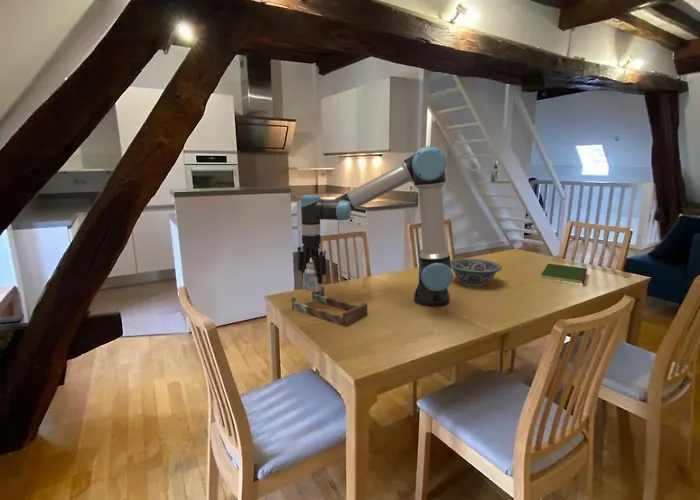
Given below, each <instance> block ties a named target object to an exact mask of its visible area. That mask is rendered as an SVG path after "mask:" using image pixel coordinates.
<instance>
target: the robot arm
mask: <svg viewBox="0 0 700 500" xmlns="http://www.w3.org/2000/svg"><path fill="white" fill-rule="evenodd" d="M446 168H447V159H446V156H445V154H444V152H443V151H442V150H441V149H440V148H438V147H436V146H432V145H431V146H429V145H427V146H424V147H421V148H419V149H418V150H417V151H416V152H415V153H413V155H411V156H409V157H408V158H406V159H404V160H402V162H401V164H400V165H398V166H396V167H394V168H392V169H391V170H389V171H386V172H384V173H382V174H381V175H379V176H377V177H375V178H373V179H371V180H369V181H366V182H365V183H363V184H362V185H361V184H360V185H359V186H358V187H355V188H354V189H352V190H350V191H348V192H346V193H344V194H342V195H341V196H338V197H336V198H334V199H333V200H322V199H321V196H320V195H318V194H304V195H302V196H301V198H300V213H301V214H300V216H301V217H300V219H301V220H300V221H301V234H302V235H301V243H302V246H298V247H297V252H298V257H297V258H298V260H297V261H298V262H297V270H298V271H300V272H301V279H302V286H303V289H305V269H306V268H307V267H306V263H308V262H311V261H310V260H312V262H314V266H315V270H316V274H317V275H316V276H315V292H318V291H321V287H322V283H323V276H325V275H327V265H326V254H327V250H322V249H321V246H320V244H321V242H322V241H321V240H322V239H321V238H322V237H321V220H322V221H323V220H327V221H328V220H329V221H331V220H332V221H349V220H350V218H351V216H352V215H351V214H352V211H354V210H356V209H357V208H360V207H361V206H364V205H366V204H368V203H370V202H371V201H373V200H374V201H375V200H376V199H377V198H379V197H382V196H384V195H385V194H387V193H390V192H392V191H394V190H396V189H398V188H400V187H402V186H403V185H405V184H408V183H409V182H410V183H413V186H414V187H415V188H416V189H417V190H418V201H419V202H418V203H419V212H420V213H419V215H420V227H421V237H422V238H421V240H422V249H420V251H419V255H418V257H419V261H418V262H419V265H418V284H417V286H416V289H415V292H414V295H413V301H414V302H415V303H416V304H418V305H420V306H424V307H429V308H431V307H432V308H438V307H439V308H440V307H446V306H447V305H449V303H450V293H449V290H448V288H449V287H450V285H451V284H452V282H453V278H454V272H453V269H452V268H451V261H452V260H451V253H450V252H449V251H448V250H447V249H446V234H445V231H446V230H445V218H444V216H445V215H444V213H445V212H444V199H443V187H444V185H446V182H447V181H446V180H447V179H446V177H447V176H446ZM319 272H320V273H319Z"/></svg>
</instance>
